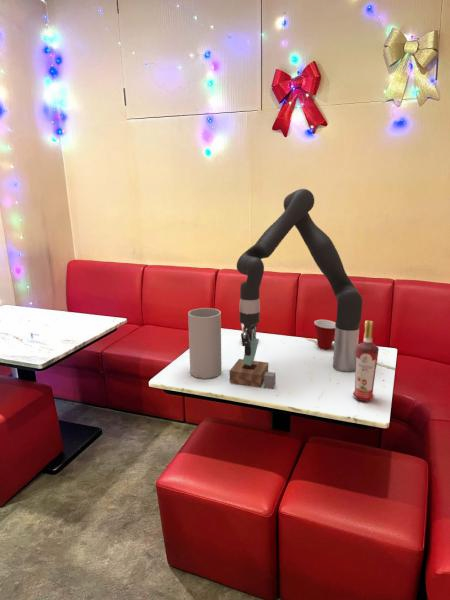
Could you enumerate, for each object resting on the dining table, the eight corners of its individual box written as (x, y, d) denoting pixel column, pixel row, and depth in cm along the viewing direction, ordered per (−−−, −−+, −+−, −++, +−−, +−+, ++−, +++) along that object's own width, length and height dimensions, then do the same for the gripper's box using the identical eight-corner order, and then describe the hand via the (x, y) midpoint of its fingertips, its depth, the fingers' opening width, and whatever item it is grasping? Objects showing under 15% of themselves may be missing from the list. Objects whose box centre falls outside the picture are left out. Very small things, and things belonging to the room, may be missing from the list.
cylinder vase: (211, 382, 162) (209, 319, 156) (184, 375, 168) (181, 314, 162) (227, 369, 173) (226, 310, 166) (201, 364, 179) (199, 306, 172)
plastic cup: (336, 353, 189) (337, 327, 186) (311, 350, 192) (312, 325, 189) (337, 344, 199) (339, 320, 196) (314, 342, 202) (315, 318, 199)
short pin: (275, 385, 159) (275, 372, 158) (273, 389, 156) (273, 376, 155) (266, 383, 160) (266, 371, 159) (264, 387, 157) (264, 375, 156)
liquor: (351, 401, 147) (356, 323, 139) (353, 392, 153) (358, 317, 146) (373, 404, 144) (380, 326, 137) (374, 395, 151) (381, 319, 144)
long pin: (244, 359, 166) (250, 336, 162) (253, 362, 165) (259, 339, 161) (242, 362, 162) (248, 339, 159) (250, 365, 162) (256, 342, 158)
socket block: (268, 374, 168) (268, 362, 167) (260, 387, 157) (260, 375, 156) (239, 370, 172) (239, 358, 171) (229, 383, 161) (229, 370, 160)
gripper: (245, 304, 166) (244, 345, 170) (233, 314, 153) (233, 359, 157) (264, 305, 163) (263, 348, 168) (254, 316, 150) (253, 361, 155)
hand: (249, 353), depth 162 cm, fingers closed on long pin, 3 cm apart
